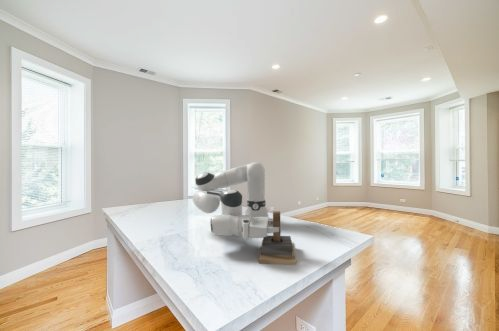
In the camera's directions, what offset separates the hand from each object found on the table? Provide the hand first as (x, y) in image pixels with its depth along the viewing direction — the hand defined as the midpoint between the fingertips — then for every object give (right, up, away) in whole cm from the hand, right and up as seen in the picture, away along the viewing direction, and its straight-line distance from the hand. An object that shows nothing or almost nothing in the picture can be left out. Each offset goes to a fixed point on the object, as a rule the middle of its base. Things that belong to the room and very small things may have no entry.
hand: (278, 226), depth 99 cm
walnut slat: (-1, -10, 0) cm, 10 cm away
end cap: (-1, -11, 0) cm, 11 cm away
